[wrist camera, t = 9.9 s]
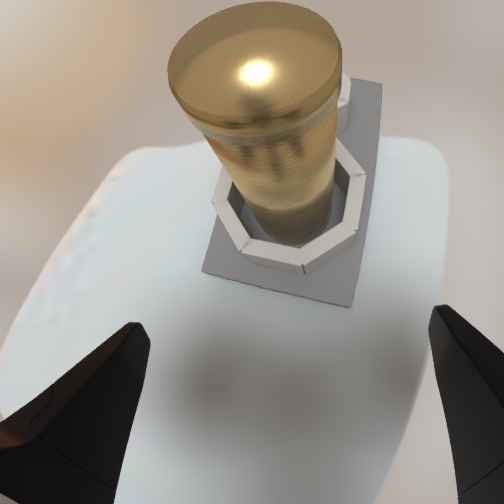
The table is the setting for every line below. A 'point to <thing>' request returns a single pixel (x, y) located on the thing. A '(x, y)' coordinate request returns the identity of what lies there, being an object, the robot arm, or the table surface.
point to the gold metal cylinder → (267, 108)
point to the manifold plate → (334, 235)
